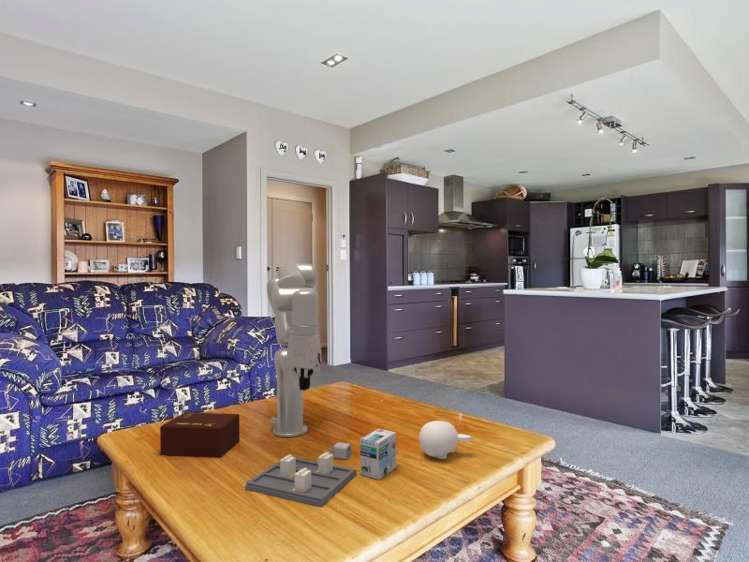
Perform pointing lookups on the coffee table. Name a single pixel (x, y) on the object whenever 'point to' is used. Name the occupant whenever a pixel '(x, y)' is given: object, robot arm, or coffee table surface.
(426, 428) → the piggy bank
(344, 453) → the usb wall charger
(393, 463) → the light bulb box
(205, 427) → the box
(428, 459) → the coffee table surface
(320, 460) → the tab
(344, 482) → the switch bank
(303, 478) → the tab
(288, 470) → the tab
